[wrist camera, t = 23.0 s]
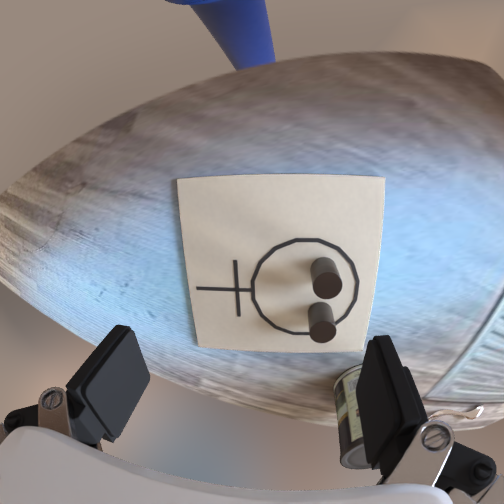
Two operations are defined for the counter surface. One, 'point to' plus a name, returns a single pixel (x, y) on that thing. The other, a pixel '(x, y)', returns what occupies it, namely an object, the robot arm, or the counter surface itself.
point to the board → (279, 257)
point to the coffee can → (349, 421)
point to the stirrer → (458, 413)
